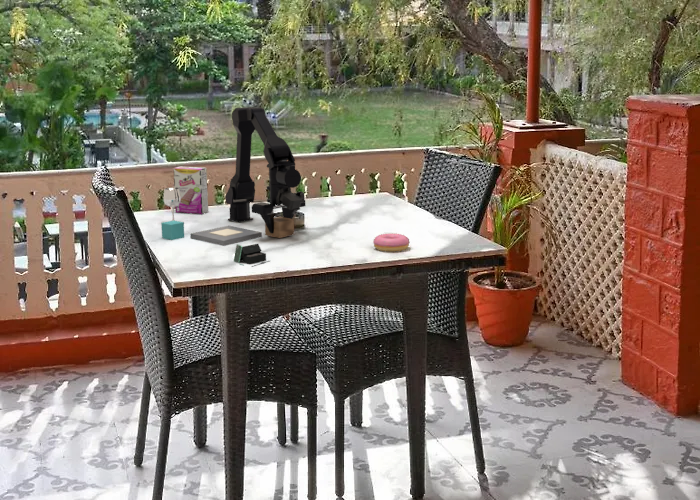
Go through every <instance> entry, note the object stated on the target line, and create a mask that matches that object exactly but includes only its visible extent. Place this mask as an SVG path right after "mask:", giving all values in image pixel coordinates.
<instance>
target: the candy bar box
mask: <svg viewBox="0 0 700 500" xmlns="http://www.w3.org/2000/svg"><path fill="white" fill-rule="evenodd" d="M172 170H173V183H174V184H173V186H174V187H173V188H179V191H180V195H181V202H180V204H179V205H178V206H176V207H174V211H175V213H178V214H179V213H181V214H190V213H192V214H191V215H194V214H195V215H204V213H205V214H207V213H209V198H208V196H209V195H208V172H207V171H208V169H207V167H195V166H184V165H183V166H181V165H180V166H176V167H173V169H172Z"/></svg>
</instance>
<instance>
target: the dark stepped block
mask: <svg viewBox="0 0 700 500" xmlns="http://www.w3.org/2000/svg"><path fill="white" fill-rule="evenodd" d="M232 259H233V262H234V263H238V264H239V265H240V266H245V265H244V264H247V265H251V268H253V267H257V266H259V265H264V264H267V263H269V262H270V260H268V261H267V253H265V252H262V249H261V247H260V245H259V243H253V244H250V245H245V246H242V245H240V244H238V243H237V244H236V246H235V251H234V253H233V254H232ZM241 261H242V263H240V262H241ZM243 263H244V264H243ZM252 264H254V265H252Z"/></svg>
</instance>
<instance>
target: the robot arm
mask: <svg viewBox="0 0 700 500" xmlns="http://www.w3.org/2000/svg"><path fill="white" fill-rule="evenodd" d="M231 121H232V126H233V127H234V129H235V131H236V132H237V133H236V152H235V155H236V156H235V173H234V174H233V177H232V178H231V179H230V182H229V187H228V189H227V192H226V194H225V196H224V198H225V203H226V204H229V218H227V221H229V222H236V223H244V222H248V221H253V220H254V217H251V213H253V214H257V215H259V216H260V217H261V218H262V220H263V221H264V225H265V224H266V226H267V228H268V230H269V232H270V233H272V234H273V232H274V218H276V215H277V213H276V212H274V210H275V209H281V210H282V217H284V218H290V219H294V215H295V214H296V213H297V212H298V211H300V210H301V208H302V207H303V208H304V207H306V199H305V198H306V197H305V192H303V191H297V192H292V188H293V189H295V188H296V187H298V186H299V185H300V183H301V181H302V175H301V174H300V171H298V169H296V159H295V156H294V155H293V153H292V149H291V148H290V146H289V144H288V143H287V142H286V140H285V139H284V138H282V137H279V136H278V134H277V133H276V131H275V130H274V128H273V126H272V124H271V122H270V120H269V118H268V117H267V115H266V110H265V108H264V107H260V106H259V107H254V106H246V107H245V106H244V107H242V106H241V107H236V108H234V109H233V111H232V112H231ZM255 131H256V132H257V134H258V136H259V138H260V140H261V142H262V143H263V151H262V152H263V154H264V158H265V160H266V161H267V164H266V168H268V183H269V185H267V186H266V190H268V192H269V198H267V199H266V202H263V201H262V202H255V196H256V195H255V194H256V188H255V187H256V183H255V181H254V180H253V179H252V177H251V175H250V174H251V158H252V157H251V156H252V136H253V133H254V132H255ZM254 202H255V203H254ZM251 203H252V205H250V204H251ZM250 206H251V207H250Z"/></svg>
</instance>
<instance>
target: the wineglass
mask: <svg viewBox="0 0 700 500" xmlns="http://www.w3.org/2000/svg"><path fill="white" fill-rule="evenodd" d="M163 202H164V204H165V206H167V207H170V208H171V213H172V214H171V216H172V220H171V221H173V220H174V221H176V220H175V207H176V206H178V205H179V204H180V202H181V195H180V191H179V188H174V187H166V188H164V191H163Z"/></svg>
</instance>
